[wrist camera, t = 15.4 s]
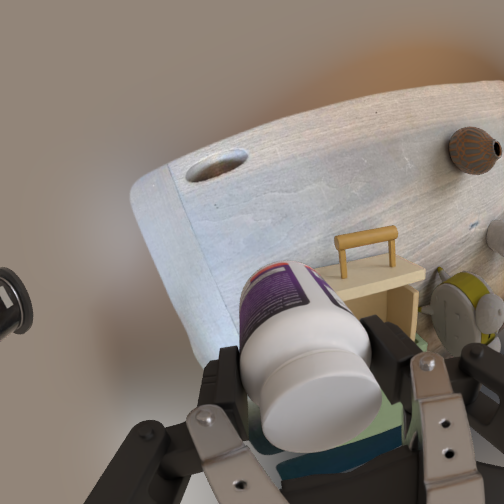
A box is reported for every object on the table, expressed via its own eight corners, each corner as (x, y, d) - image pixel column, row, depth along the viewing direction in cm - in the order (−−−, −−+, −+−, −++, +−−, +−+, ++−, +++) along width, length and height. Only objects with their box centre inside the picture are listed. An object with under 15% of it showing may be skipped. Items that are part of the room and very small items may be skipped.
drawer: (303, 232, 32) (323, 246, 24) (389, 217, 31) (425, 226, 24) (318, 360, 36) (333, 396, 28) (390, 340, 36) (415, 368, 28)
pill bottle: (235, 335, 17) (231, 463, 8) (244, 253, 16) (247, 348, 6) (317, 340, 17) (368, 455, 8) (334, 263, 16) (426, 347, 7)
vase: (469, 180, 32) (508, 182, 23) (440, 166, 31) (482, 165, 22) (472, 139, 30) (510, 135, 21) (443, 122, 30) (483, 114, 21)
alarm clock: (448, 319, 37) (504, 362, 22) (418, 338, 37) (471, 390, 22) (444, 257, 34) (515, 289, 19) (411, 275, 34) (481, 318, 20)
